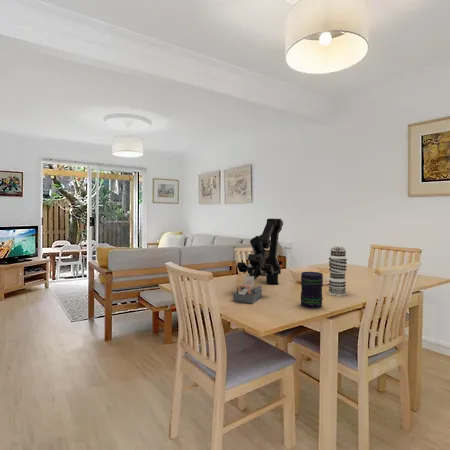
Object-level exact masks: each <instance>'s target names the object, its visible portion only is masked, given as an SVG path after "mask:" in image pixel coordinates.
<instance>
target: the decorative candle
mask: <svg viewBox="0 0 450 450" xmlns="http://www.w3.org/2000/svg"><path fill="white" fill-rule="evenodd" d="M329 250H330V255H329V258H328V266H329V269H328V270H329V274H330V275H329V280H328V282H329V283H328V285H329V286H328V295H330V294H331V295H330V296H333V295H338V296H337V297H342V296H341V295H345V296H346V292H347V291H346V290H347V288H346V286H347V285H346V283H347V282H346V273H347V264H348V262H347V261H348V259H347V256H346V255H347V253H346V252H347V250H346V248H345V247H343V246H333V247H331V248H330V249H329Z"/></svg>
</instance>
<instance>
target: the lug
mask: <svg viewBox="0 0 450 450" xmlns="http://www.w3.org/2000/svg"><path fill="white" fill-rule="evenodd" d="M237 287H238V293H239V291H241V287H248V294H251V286H250V285H243V283H242V284H241V283H240V284H237Z"/></svg>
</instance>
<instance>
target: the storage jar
mask: <svg viewBox="0 0 450 450" xmlns="http://www.w3.org/2000/svg"><path fill="white" fill-rule="evenodd" d="M323 276H324V274H323V273H322V272H316V271H302V272H301V276H300V285H301V292H300V306H301V307H303V308H307V309H313V308H315V309H321V308H322V307H323V282H324V278H323ZM320 307H321V308H320Z"/></svg>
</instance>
